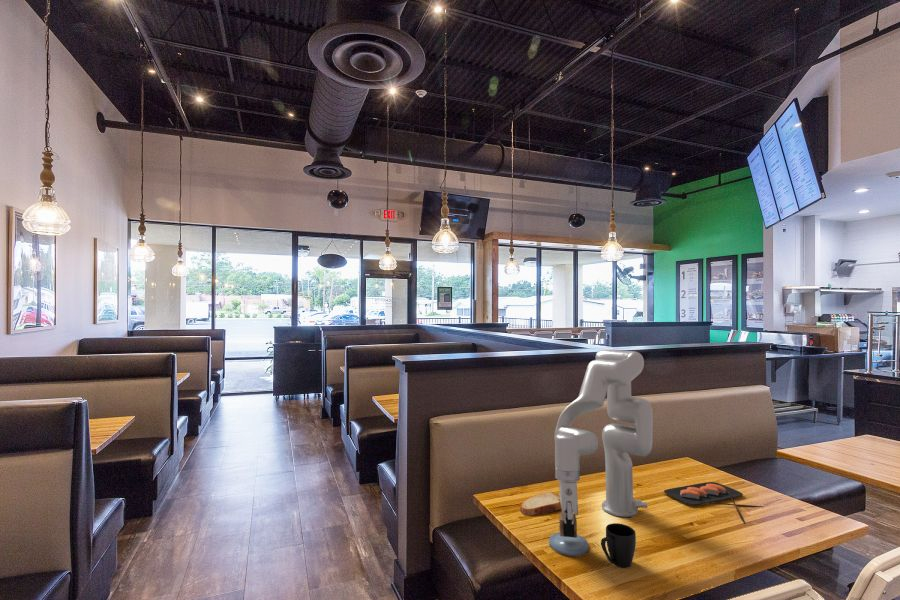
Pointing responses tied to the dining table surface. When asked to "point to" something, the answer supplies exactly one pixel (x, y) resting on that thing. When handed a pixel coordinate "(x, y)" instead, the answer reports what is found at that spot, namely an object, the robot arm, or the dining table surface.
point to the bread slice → (541, 504)
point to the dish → (568, 545)
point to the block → (561, 520)
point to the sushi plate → (706, 494)
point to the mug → (619, 544)
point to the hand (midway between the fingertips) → (568, 530)
